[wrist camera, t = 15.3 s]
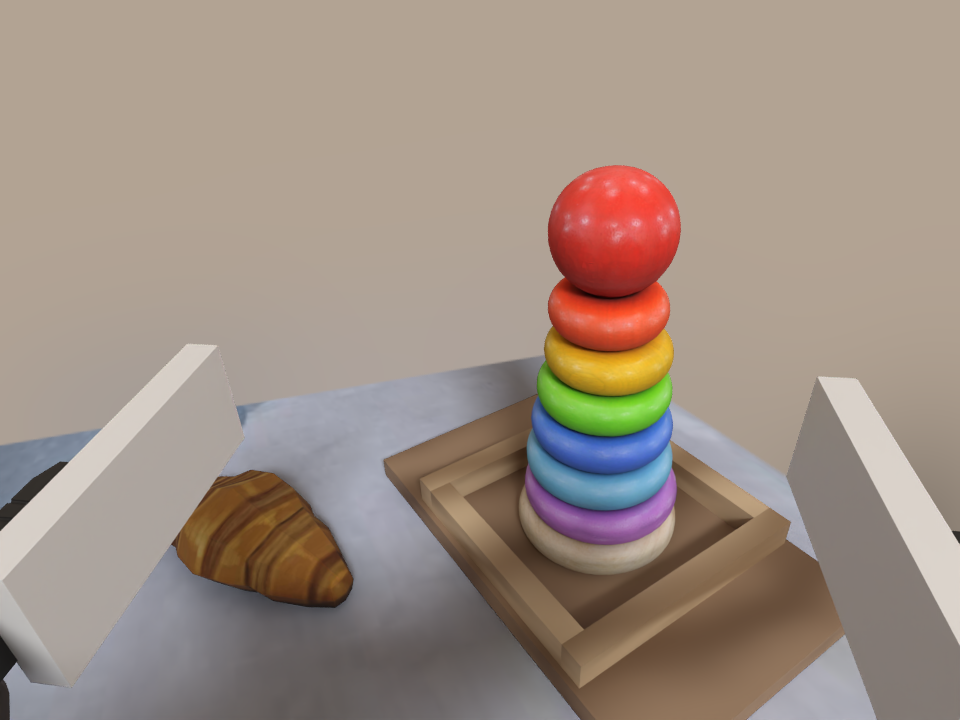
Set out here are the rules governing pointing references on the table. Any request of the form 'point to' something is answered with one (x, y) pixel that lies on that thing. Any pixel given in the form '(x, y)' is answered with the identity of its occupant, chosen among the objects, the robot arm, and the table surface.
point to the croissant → (264, 542)
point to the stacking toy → (605, 379)
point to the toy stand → (630, 584)
